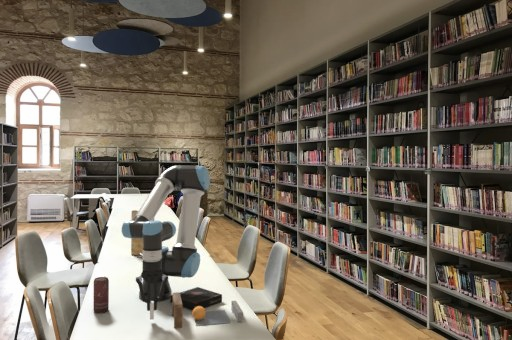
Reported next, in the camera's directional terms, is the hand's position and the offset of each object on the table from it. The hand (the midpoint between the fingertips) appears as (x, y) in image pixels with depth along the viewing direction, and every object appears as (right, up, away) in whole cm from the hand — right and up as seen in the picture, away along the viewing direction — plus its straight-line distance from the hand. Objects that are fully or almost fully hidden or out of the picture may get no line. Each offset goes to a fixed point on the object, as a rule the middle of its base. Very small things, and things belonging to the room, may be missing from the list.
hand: (151, 318), depth 166 cm
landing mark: (+23, -2, +6) cm, 24 cm away
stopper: (+34, -2, +9) cm, 35 cm away
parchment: (-33, +2, +107) cm, 112 cm away
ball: (+18, +1, +4) cm, 19 cm away
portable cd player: (+14, -2, +24) cm, 28 cm away
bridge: (+10, -2, +3) cm, 10 cm away
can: (-25, -1, +12) cm, 28 cm away
